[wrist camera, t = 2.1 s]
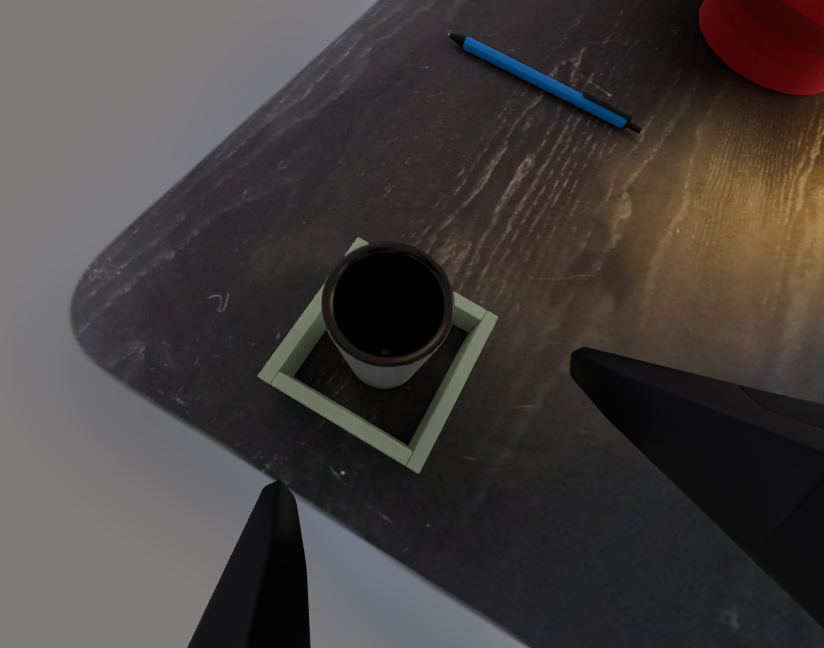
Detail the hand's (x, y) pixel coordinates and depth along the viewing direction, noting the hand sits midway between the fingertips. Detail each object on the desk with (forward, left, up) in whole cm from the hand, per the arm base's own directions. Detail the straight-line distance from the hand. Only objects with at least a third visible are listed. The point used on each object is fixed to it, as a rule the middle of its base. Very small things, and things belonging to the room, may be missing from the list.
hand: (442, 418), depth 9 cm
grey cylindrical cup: (+3, +3, -11) cm, 12 cm away
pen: (+31, +4, -11) cm, 33 cm away
